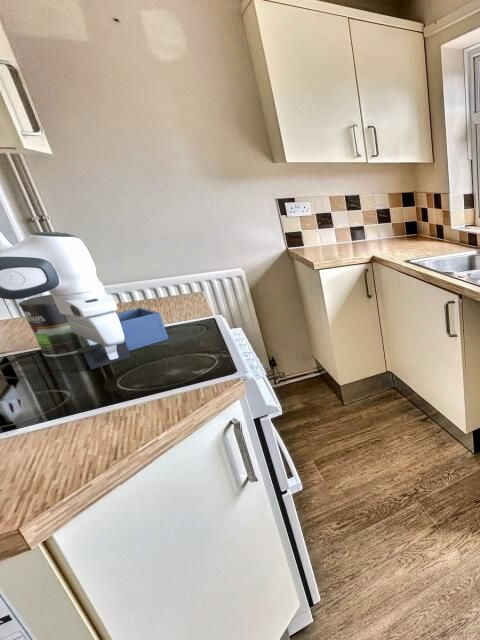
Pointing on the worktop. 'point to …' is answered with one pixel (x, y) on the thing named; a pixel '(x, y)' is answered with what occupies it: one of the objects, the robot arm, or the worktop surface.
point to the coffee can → (51, 327)
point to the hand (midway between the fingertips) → (106, 355)
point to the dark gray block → (101, 355)
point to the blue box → (141, 327)
